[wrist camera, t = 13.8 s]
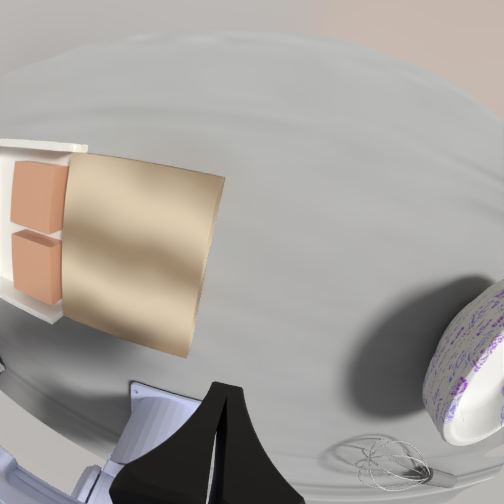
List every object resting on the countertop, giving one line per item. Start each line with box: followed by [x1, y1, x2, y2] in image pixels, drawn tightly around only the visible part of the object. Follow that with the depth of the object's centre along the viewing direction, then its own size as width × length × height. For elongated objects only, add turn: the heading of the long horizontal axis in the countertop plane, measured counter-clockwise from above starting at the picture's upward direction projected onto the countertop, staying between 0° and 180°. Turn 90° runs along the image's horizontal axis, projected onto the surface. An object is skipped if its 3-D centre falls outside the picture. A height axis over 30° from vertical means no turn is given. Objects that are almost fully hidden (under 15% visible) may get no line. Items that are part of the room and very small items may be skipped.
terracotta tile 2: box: [10, 160, 70, 234], centre depth 18 cm, size 5×5×2 cm
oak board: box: [62, 152, 225, 358], centre depth 19 cm, size 13×11×2 cm
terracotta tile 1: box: [11, 229, 62, 306], centre depth 19 cm, size 5×5×2 cm
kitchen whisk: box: [355, 439, 457, 491], centre depth 25 cm, size 6×34×6 cm, turn 48°
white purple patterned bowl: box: [422, 279, 504, 446], centre depth 18 cm, size 15×15×8 cm
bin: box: [0, 139, 88, 324], centre depth 19 cm, size 14×12×3 cm
